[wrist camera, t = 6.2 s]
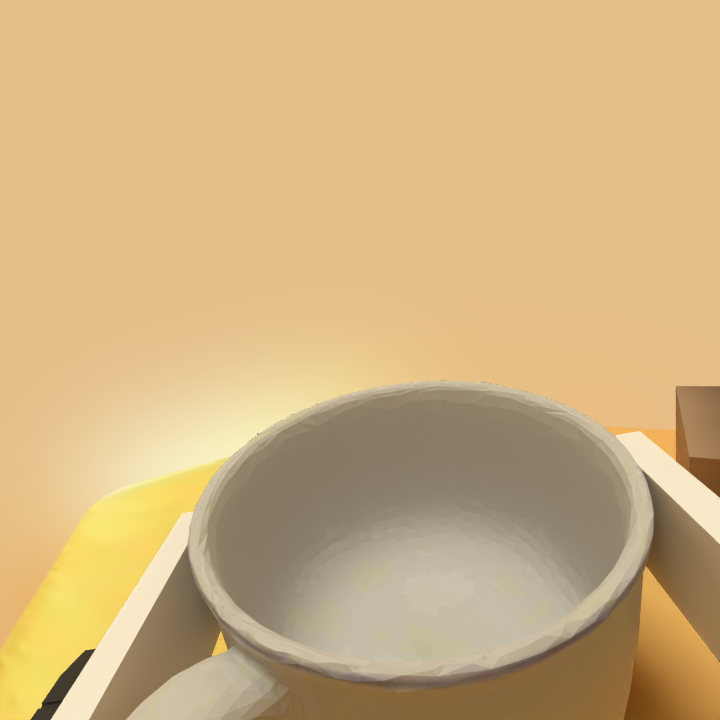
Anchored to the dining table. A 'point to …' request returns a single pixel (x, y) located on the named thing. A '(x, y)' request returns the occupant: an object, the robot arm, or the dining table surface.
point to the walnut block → (699, 433)
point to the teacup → (420, 564)
